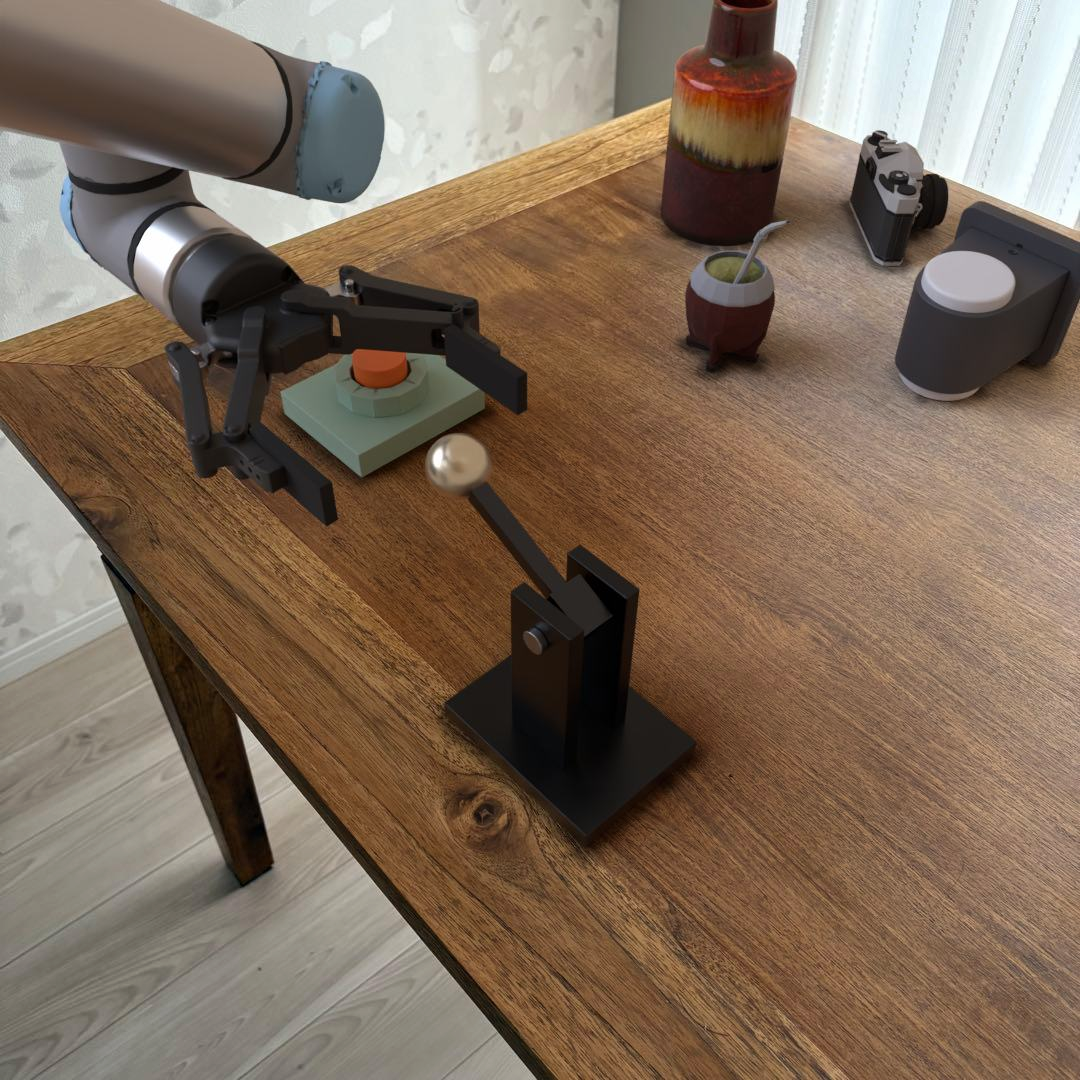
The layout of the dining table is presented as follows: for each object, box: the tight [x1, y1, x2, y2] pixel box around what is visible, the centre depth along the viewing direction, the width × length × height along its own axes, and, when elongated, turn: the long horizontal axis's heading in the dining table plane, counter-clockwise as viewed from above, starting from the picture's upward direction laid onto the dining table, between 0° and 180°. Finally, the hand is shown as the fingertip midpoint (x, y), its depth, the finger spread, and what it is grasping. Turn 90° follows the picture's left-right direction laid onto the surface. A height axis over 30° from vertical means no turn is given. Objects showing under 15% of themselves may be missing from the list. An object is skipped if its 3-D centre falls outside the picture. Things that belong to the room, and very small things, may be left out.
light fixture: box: [894, 200, 1080, 402], centre depth 88 cm, size 11×13×11 cm
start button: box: [352, 349, 407, 389], centre depth 83 cm, size 4×4×2 cm
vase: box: [660, 0, 798, 246], centre depth 101 cm, size 11×11×20 cm
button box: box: [280, 353, 486, 478], centre depth 85 cm, size 12×10×4 cm
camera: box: [848, 129, 949, 267], centre depth 104 cm, size 13×8×9 cm, turn 4°
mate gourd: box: [684, 219, 792, 373], centre depth 87 cm, size 8×8×15 cm
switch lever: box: [424, 432, 613, 641], centre depth 59 cm, size 13×4×4 cm, turn 43°
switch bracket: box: [443, 544, 698, 849], centre depth 61 cm, size 12×9×13 cm
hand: (431, 446), depth 61 cm, fingers open, 13 cm apart
